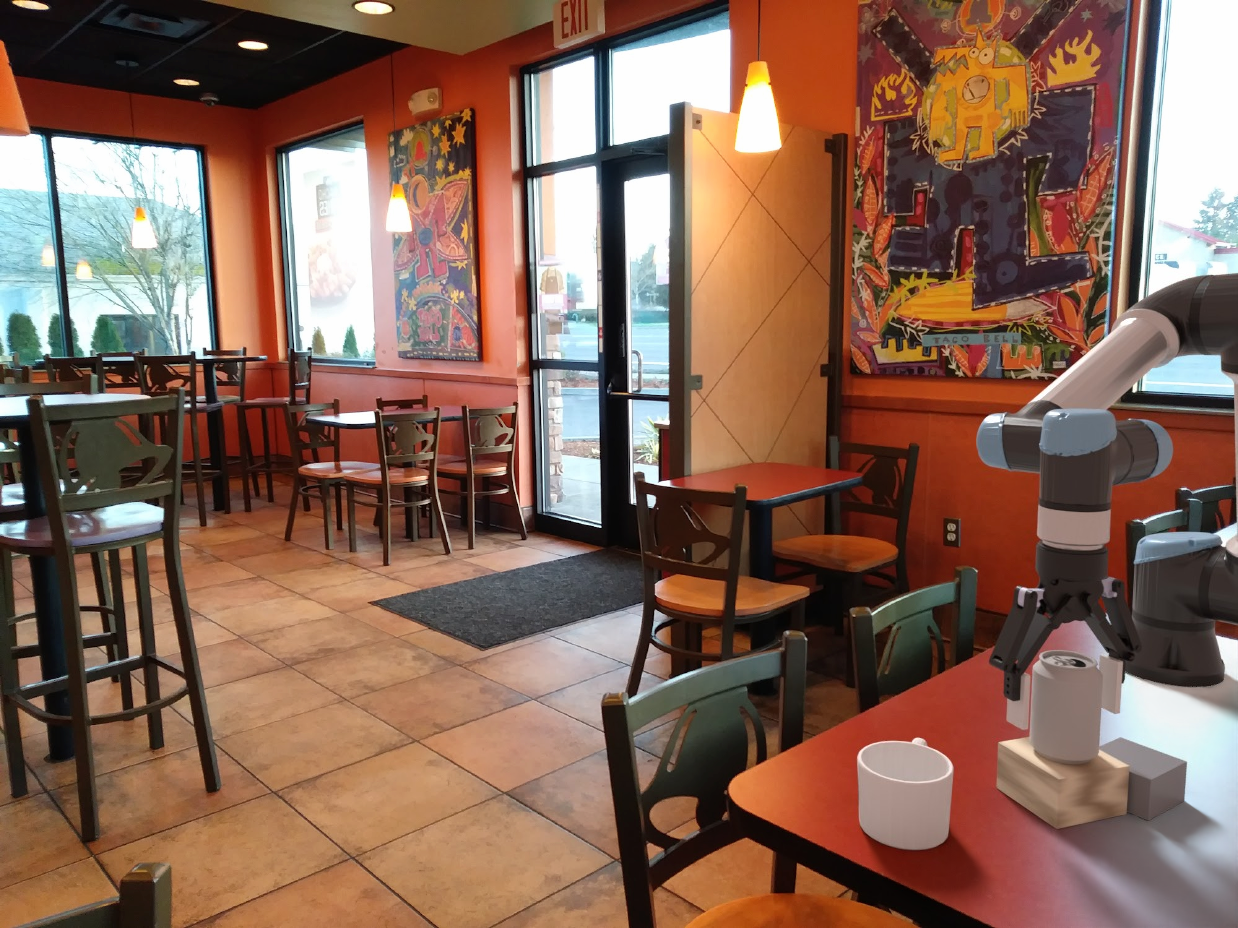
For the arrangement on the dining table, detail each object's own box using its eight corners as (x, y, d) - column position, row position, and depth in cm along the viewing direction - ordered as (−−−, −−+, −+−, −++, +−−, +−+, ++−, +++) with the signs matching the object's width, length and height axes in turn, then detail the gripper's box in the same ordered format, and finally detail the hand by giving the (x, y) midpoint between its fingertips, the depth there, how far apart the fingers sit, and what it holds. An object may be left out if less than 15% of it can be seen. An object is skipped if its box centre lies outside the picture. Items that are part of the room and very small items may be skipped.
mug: (939, 862, 96) (942, 792, 95) (844, 835, 102) (845, 768, 101) (965, 806, 107) (967, 742, 106) (877, 785, 113) (879, 724, 112)
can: (1107, 770, 103) (1113, 670, 101) (1037, 765, 105) (1042, 666, 103) (1087, 741, 110) (1092, 648, 109) (1022, 737, 112) (1026, 645, 110)
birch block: (1062, 774, 114) (1064, 730, 113) (1126, 813, 105) (1129, 765, 104) (996, 787, 112) (998, 742, 111) (1056, 828, 102) (1059, 779, 101)
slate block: (1118, 774, 114) (1120, 737, 114) (1184, 800, 107) (1187, 761, 107) (1081, 791, 110) (1083, 753, 109) (1148, 820, 103) (1150, 779, 103)
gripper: (1130, 527, 111) (1120, 691, 114) (960, 544, 104) (955, 718, 107) (1183, 540, 104) (1172, 714, 107) (1005, 559, 97) (998, 745, 100)
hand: (1063, 717), depth 107 cm, fingers open, 13 cm apart
